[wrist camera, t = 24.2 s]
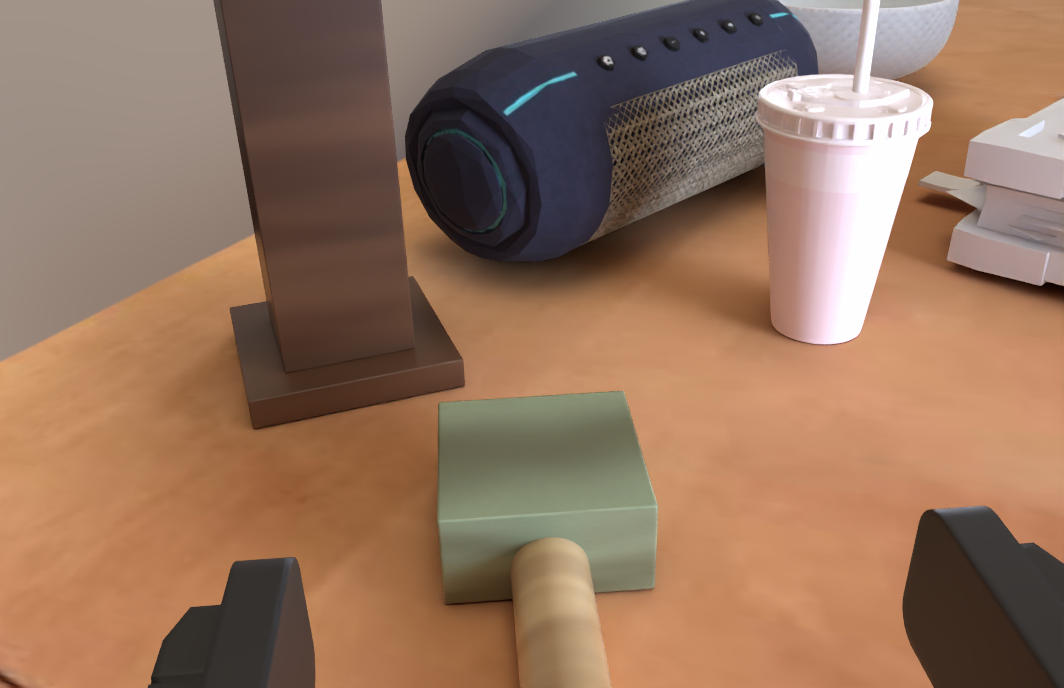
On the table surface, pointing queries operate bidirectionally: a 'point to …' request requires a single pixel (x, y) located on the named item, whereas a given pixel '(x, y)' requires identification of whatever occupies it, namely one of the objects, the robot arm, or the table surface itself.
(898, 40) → the cereal bowl
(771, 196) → the smoothie
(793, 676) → the table surface
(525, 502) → the green wooden mallet
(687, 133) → the portable speaker
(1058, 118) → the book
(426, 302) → the stand
